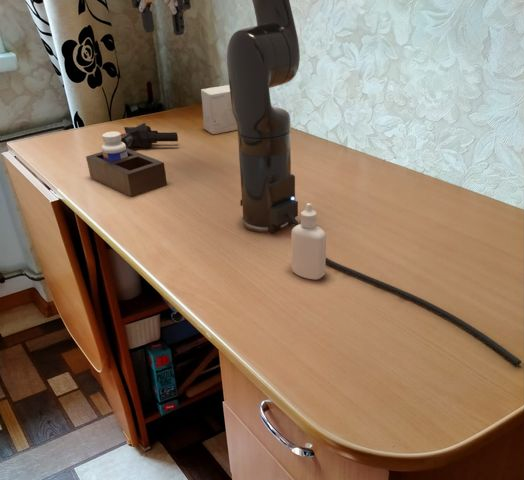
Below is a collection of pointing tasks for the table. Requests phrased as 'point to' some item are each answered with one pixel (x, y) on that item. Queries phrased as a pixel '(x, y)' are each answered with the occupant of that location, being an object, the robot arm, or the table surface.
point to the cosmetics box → (218, 110)
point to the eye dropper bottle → (308, 246)
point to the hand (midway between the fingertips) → (164, 33)
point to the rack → (128, 172)
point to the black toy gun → (145, 136)
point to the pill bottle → (113, 147)
